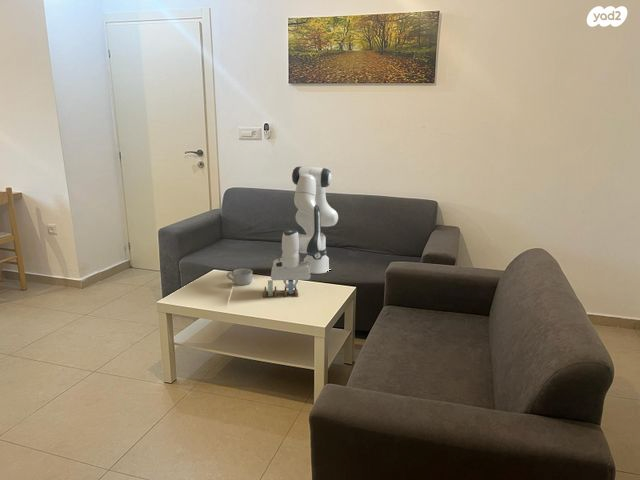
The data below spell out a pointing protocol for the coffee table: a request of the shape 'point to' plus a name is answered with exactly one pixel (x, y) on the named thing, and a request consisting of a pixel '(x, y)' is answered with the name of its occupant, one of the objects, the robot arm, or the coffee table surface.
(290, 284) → the blue plate
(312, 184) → the robot arm
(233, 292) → the coffee table surface
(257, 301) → the coffee table surface
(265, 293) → the rack
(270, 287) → the sage plate
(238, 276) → the teacup
